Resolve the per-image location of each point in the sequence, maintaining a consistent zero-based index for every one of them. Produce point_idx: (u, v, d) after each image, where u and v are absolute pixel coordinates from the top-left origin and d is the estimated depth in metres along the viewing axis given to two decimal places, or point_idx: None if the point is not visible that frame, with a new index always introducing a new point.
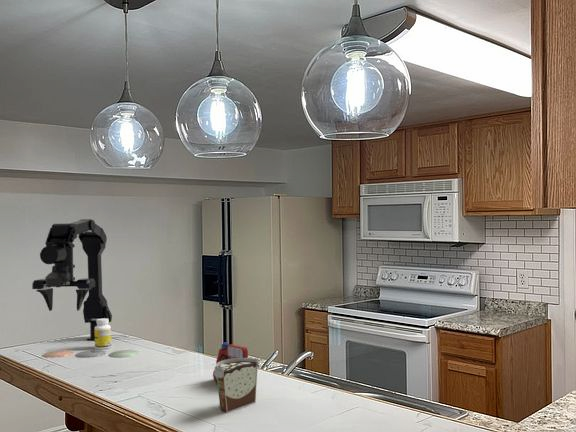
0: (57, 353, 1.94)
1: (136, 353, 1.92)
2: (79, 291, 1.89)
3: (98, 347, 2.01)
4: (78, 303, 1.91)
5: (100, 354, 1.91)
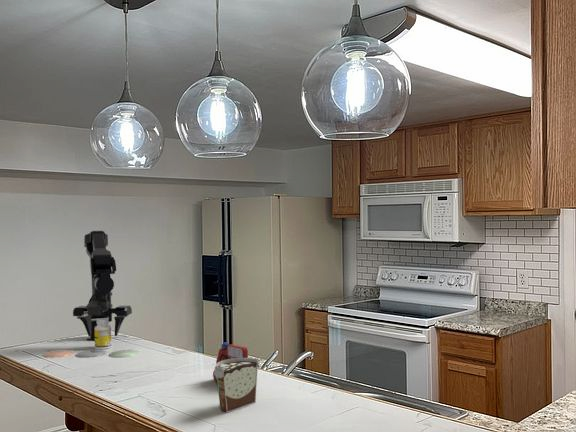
0: (57, 353, 1.94)
1: (136, 353, 1.92)
2: (117, 318, 2.01)
3: (98, 347, 2.01)
4: (116, 329, 2.02)
5: (100, 354, 1.91)
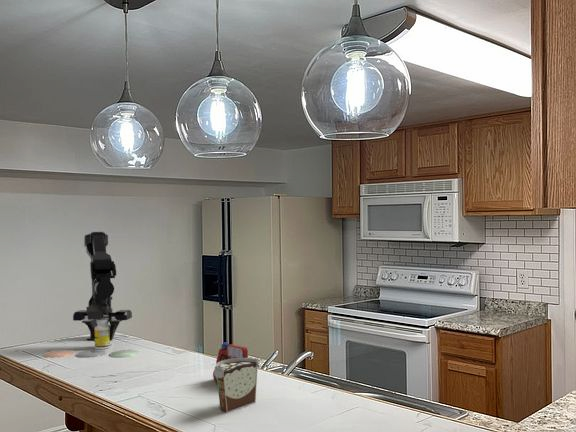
0: (57, 353, 1.94)
1: (136, 353, 1.92)
2: (112, 322, 2.01)
3: (98, 347, 2.01)
4: (111, 333, 2.02)
5: (100, 354, 1.91)
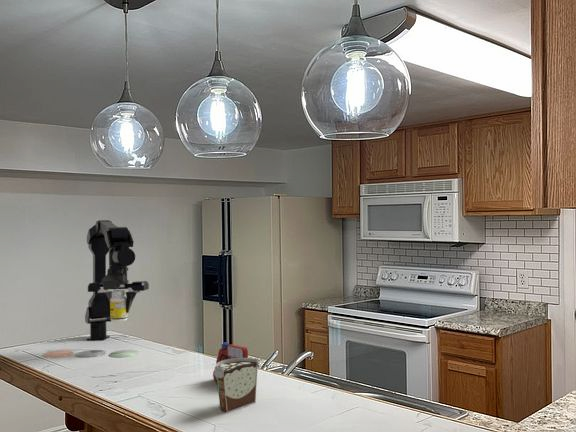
0: (57, 353, 1.94)
1: (136, 353, 1.92)
2: (129, 293, 1.92)
3: (114, 319, 1.92)
4: (127, 305, 1.94)
5: (100, 354, 1.91)
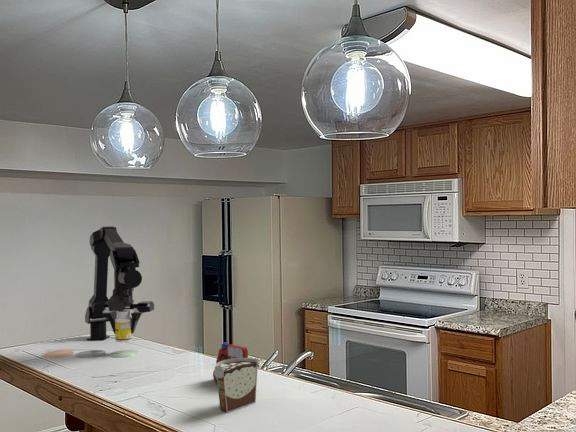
0: (57, 353, 1.94)
1: (136, 353, 1.92)
2: (134, 314, 1.90)
3: (119, 340, 1.90)
4: (133, 326, 1.92)
5: (100, 354, 1.91)
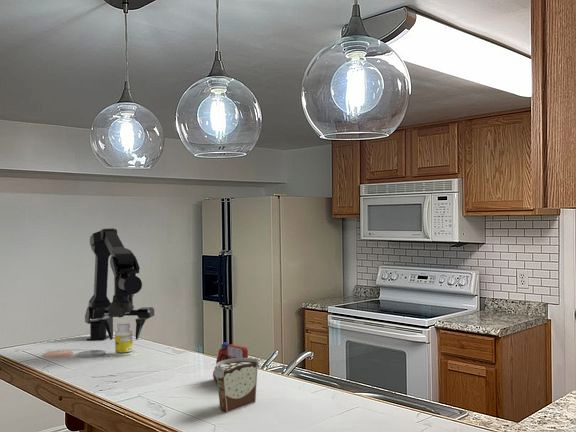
0: (57, 353, 1.94)
1: None
2: (139, 320, 1.90)
3: (119, 353, 1.90)
4: (137, 332, 1.91)
5: (100, 354, 1.91)
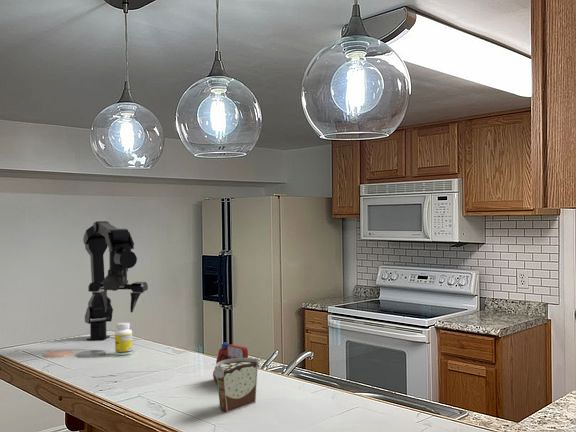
0: (57, 353, 1.94)
1: None
2: (133, 294, 1.98)
3: (119, 353, 1.90)
4: (132, 305, 2.00)
5: (100, 354, 1.91)
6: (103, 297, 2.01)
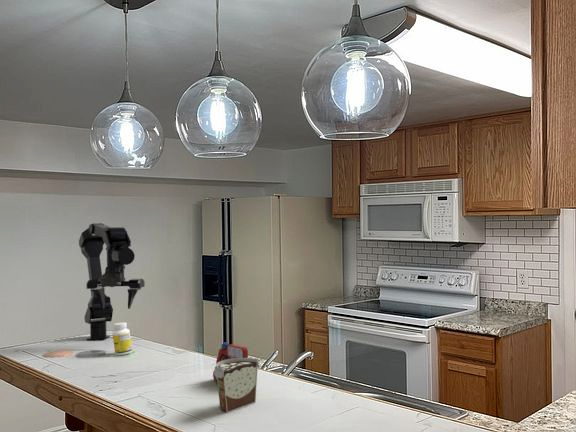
0: (57, 353, 1.94)
1: None
2: (130, 290, 2.02)
3: (120, 353, 1.90)
4: (129, 302, 2.04)
5: (100, 354, 1.91)
6: (101, 294, 2.05)
